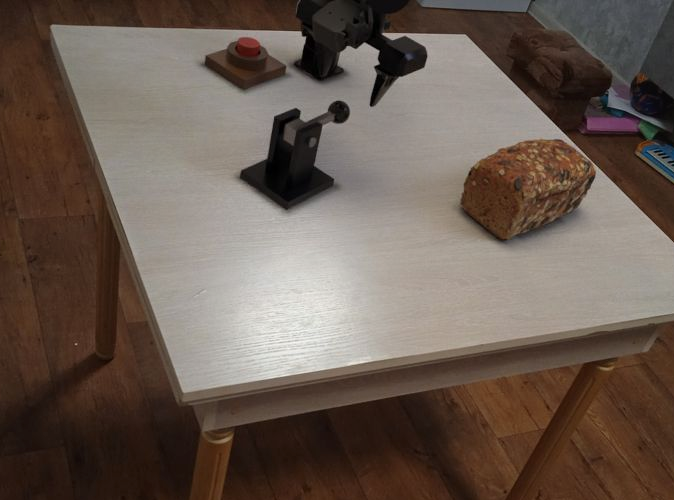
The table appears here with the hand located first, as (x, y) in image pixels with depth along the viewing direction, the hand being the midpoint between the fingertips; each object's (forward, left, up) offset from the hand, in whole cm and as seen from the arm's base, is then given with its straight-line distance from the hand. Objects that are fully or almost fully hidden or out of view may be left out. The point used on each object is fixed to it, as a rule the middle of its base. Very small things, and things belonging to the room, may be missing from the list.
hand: (347, 90), depth 116 cm
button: (-8, -26, -8) cm, 28 cm away
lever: (+5, 0, -5) cm, 7 cm away
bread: (-15, +25, -12) cm, 31 cm away
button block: (-8, -26, -11) cm, 29 cm away
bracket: (+10, 0, -11) cm, 15 cm away
